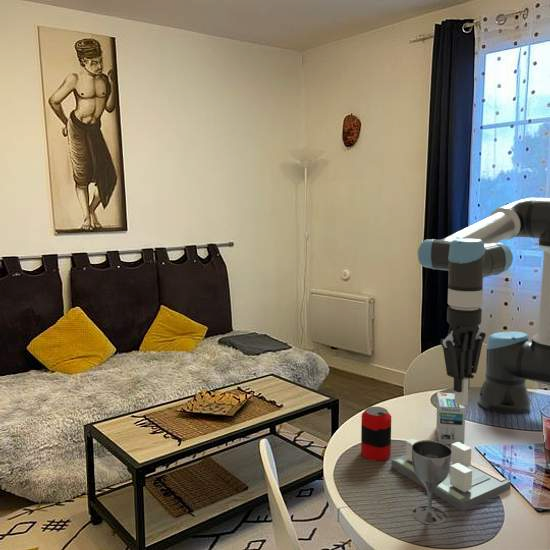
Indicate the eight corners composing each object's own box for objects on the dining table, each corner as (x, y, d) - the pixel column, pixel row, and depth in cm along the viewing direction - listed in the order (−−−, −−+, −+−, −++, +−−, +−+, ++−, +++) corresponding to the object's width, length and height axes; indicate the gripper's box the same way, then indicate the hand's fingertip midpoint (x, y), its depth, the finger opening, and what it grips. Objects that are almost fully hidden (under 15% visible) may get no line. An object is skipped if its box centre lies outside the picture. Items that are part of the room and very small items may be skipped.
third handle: (457, 480, 125) (457, 462, 125) (471, 489, 122) (472, 470, 121) (449, 483, 124) (450, 465, 123) (463, 492, 121) (464, 473, 120)
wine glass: (405, 505, 121) (406, 441, 118) (440, 502, 121) (442, 439, 119) (417, 527, 113) (419, 459, 110) (455, 524, 114) (457, 457, 111)
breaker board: (437, 450, 145) (437, 442, 144) (510, 489, 126) (510, 480, 126) (391, 466, 137) (391, 458, 136) (461, 511, 118) (462, 501, 118)
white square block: (457, 458, 135) (458, 441, 135) (470, 465, 132) (471, 448, 131) (450, 461, 134) (451, 444, 133) (463, 468, 131) (464, 450, 130)
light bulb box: (464, 446, 147) (466, 408, 145) (438, 444, 148) (439, 406, 146) (459, 428, 157) (461, 393, 155) (435, 427, 159) (436, 391, 157)
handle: (412, 455, 137) (413, 438, 137) (424, 462, 134) (425, 445, 133) (405, 458, 136) (406, 441, 135) (417, 464, 133) (418, 447, 132)
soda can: (373, 464, 138) (373, 419, 136) (355, 451, 145) (355, 408, 143) (396, 457, 142) (397, 413, 140) (378, 445, 148) (379, 403, 146)
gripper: (470, 299, 133) (467, 392, 137) (431, 307, 126) (429, 404, 130) (497, 305, 126) (492, 402, 130) (457, 313, 120) (454, 415, 124)
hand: (460, 403), depth 130 cm, fingers closed
